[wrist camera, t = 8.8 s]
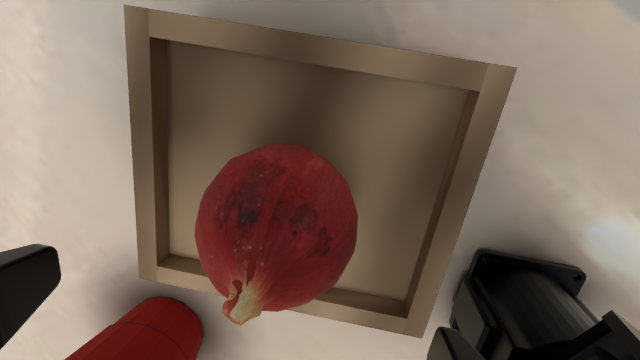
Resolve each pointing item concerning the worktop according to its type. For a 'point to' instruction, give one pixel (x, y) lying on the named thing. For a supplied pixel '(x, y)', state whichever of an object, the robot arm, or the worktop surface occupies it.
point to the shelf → (311, 147)
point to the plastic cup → (148, 334)
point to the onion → (275, 230)
